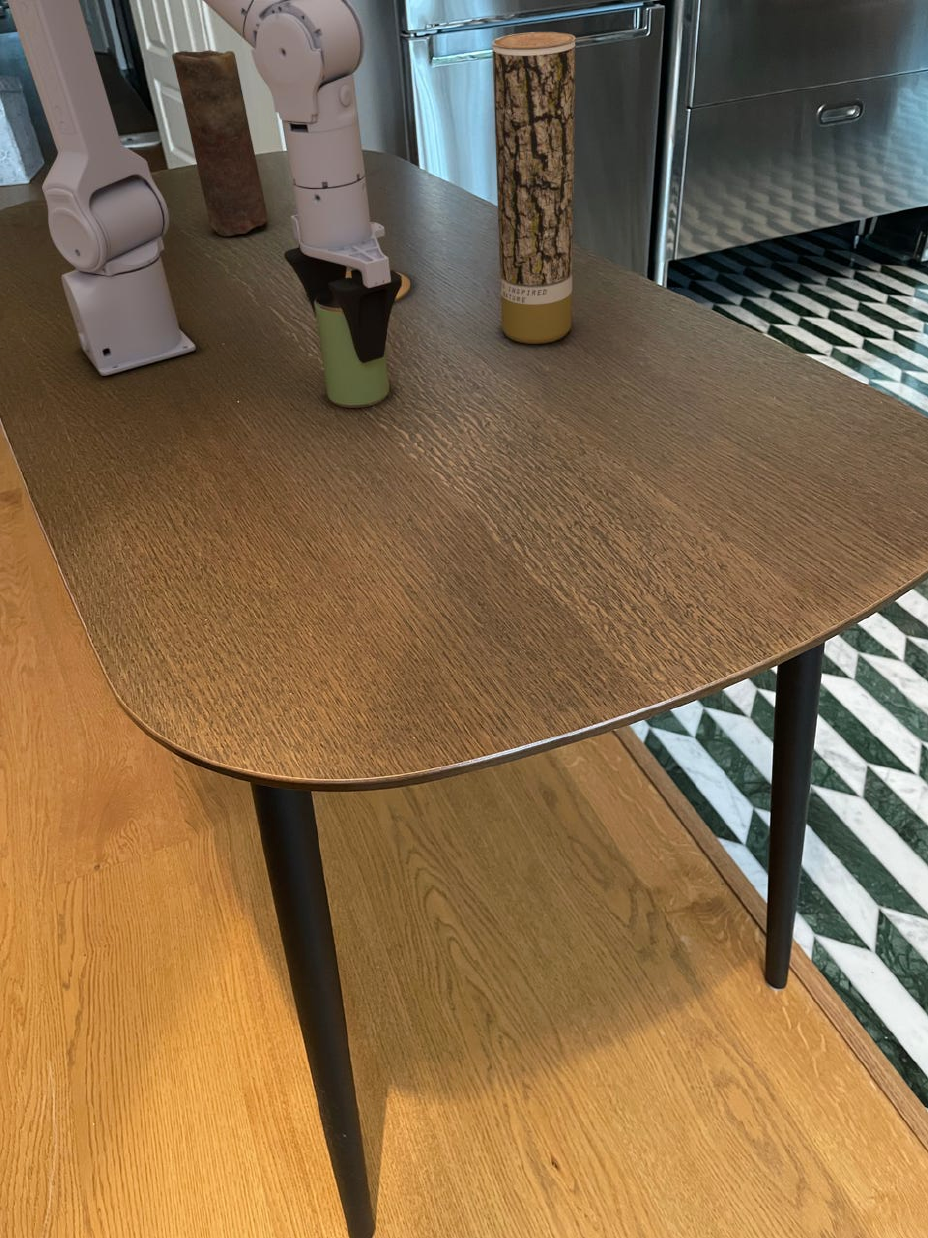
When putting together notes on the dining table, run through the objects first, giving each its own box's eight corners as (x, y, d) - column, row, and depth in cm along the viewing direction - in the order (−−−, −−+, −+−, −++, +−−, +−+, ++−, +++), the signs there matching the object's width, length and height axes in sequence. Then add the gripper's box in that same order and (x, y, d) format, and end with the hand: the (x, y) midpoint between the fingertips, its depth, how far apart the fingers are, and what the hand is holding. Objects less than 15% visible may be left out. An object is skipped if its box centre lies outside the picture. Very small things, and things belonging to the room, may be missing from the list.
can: (344, 414, 84) (331, 314, 78) (317, 390, 88) (302, 293, 82) (400, 397, 86) (392, 298, 81) (372, 374, 90) (361, 278, 84)
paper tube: (566, 348, 92) (570, 47, 76) (496, 345, 93) (485, 49, 77) (575, 318, 97) (580, 30, 81) (508, 316, 98) (499, 32, 82)
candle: (205, 224, 126) (165, 49, 113) (259, 213, 128) (226, 40, 115) (219, 241, 121) (179, 59, 108) (276, 230, 123) (243, 49, 110)
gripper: (418, 188, 72) (432, 359, 81) (335, 148, 82) (356, 305, 90) (332, 209, 69) (356, 383, 78) (257, 165, 79) (286, 325, 88)
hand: (351, 343), depth 84 cm, fingers open, 7 cm apart
